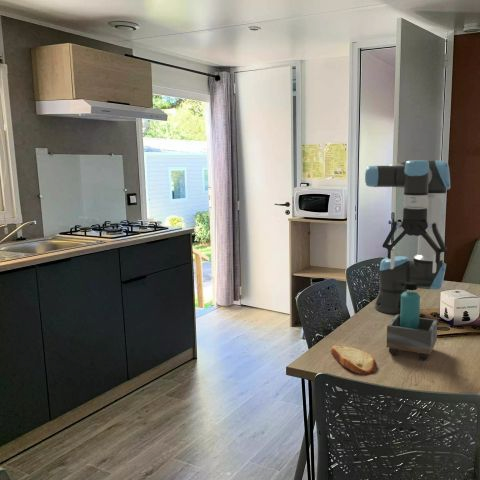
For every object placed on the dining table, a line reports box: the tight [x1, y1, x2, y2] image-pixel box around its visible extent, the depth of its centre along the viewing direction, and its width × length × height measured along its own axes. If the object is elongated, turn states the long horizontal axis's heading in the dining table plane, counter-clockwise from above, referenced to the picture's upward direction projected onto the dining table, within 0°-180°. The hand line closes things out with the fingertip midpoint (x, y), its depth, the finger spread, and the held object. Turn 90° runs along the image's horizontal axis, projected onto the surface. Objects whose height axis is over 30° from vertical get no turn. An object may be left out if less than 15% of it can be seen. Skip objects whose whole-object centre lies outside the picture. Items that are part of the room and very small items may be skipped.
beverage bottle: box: [399, 282, 421, 330], centre depth 171 cm, size 6×7×20 cm
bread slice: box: [330, 345, 378, 376], centre depth 166 cm, size 18×18×4 cm
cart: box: [386, 314, 438, 362], centre depth 172 cm, size 14×14×10 cm
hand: (412, 270), depth 169 cm, fingers open, 13 cm apart
